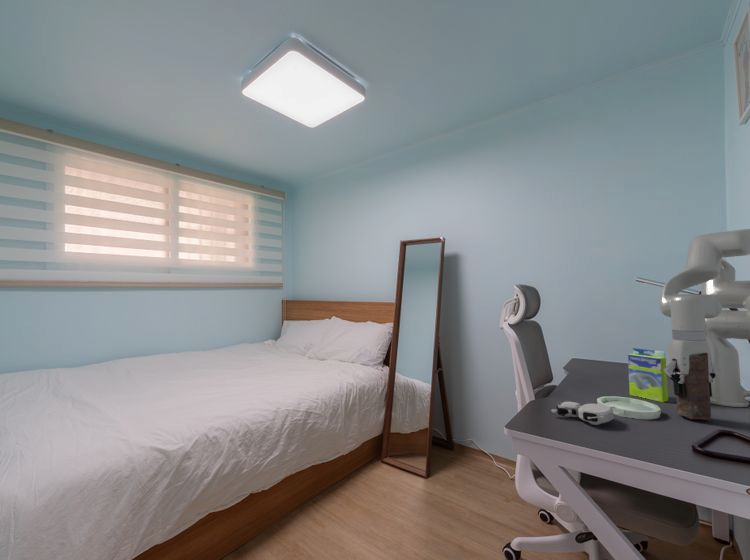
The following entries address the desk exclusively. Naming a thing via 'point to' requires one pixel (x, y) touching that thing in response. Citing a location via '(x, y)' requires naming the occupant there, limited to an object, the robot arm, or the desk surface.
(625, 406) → the dish
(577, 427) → the desk surface
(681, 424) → the desk surface
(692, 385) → the rusty brown cylinder
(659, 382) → the box
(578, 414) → the robot toy
